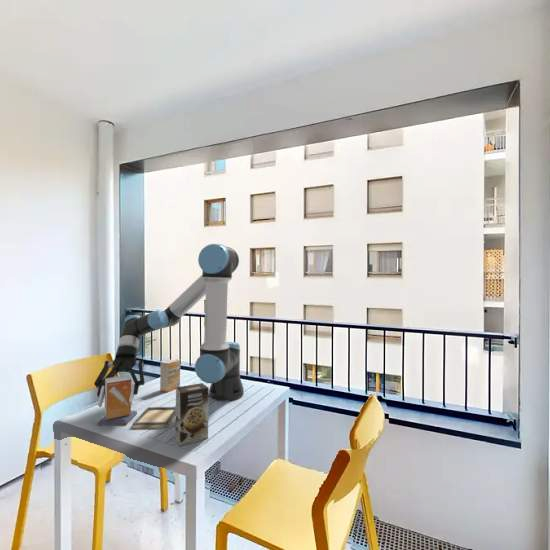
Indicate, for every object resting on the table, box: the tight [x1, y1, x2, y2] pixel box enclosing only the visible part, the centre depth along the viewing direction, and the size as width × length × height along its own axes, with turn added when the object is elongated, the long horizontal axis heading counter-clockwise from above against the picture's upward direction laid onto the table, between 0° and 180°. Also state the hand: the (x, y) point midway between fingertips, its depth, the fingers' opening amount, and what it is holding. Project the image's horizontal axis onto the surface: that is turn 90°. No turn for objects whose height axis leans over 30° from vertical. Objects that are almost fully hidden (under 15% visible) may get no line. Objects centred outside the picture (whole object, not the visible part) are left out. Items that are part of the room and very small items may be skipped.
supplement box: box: [159, 358, 181, 393], centre depth 146 cm, size 8×5×13 cm, turn 154°
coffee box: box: [174, 382, 210, 446], centre depth 101 cm, size 9×6×16 cm
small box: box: [104, 374, 132, 420], centre depth 114 cm, size 8×6×13 cm
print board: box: [131, 406, 176, 429], centre depth 114 cm, size 12×14×2 cm
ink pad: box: [96, 410, 138, 426], centre depth 114 cm, size 10×9×2 cm
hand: (115, 404), depth 111 cm, fingers closed on small box, 10 cm apart
